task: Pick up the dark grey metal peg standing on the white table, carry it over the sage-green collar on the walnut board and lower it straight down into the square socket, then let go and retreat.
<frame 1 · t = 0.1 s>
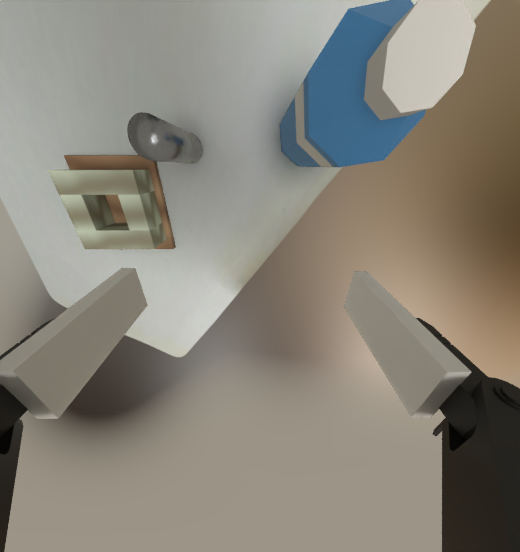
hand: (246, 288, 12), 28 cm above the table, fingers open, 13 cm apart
water bottle: (307, 133, 31), on the table
socket: (128, 206, 36), on the table
peg: (190, 148, 32), on the table
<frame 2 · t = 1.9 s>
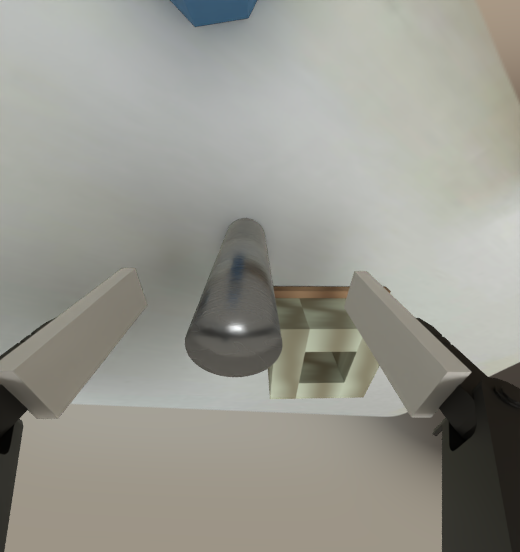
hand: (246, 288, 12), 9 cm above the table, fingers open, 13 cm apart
socket: (312, 329, 27), on the table
peg: (245, 237, 20), on the table
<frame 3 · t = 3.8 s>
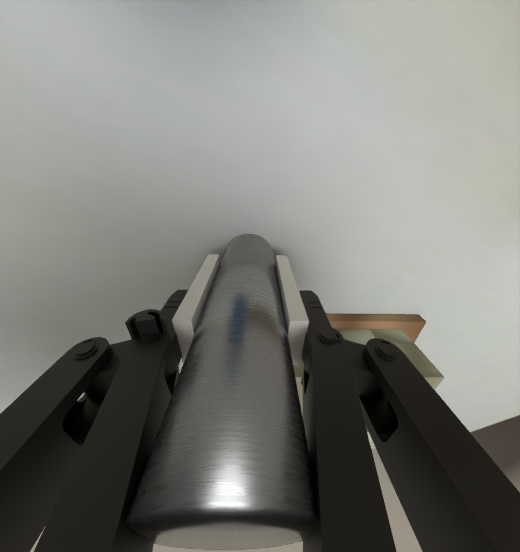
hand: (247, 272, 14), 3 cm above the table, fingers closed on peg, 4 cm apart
socket: (326, 360, 23), on the table
peg: (249, 257, 16), on the table, touching gripper
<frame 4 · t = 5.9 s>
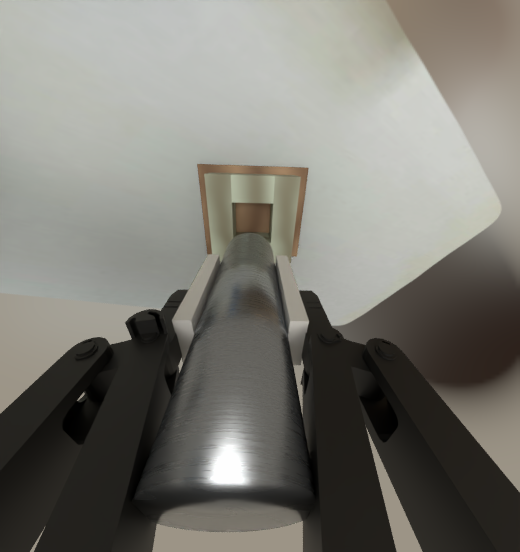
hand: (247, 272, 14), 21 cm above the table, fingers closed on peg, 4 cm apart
socket: (252, 214, 32), on the table
peg: (249, 255, 16), point 18 cm above the table, touching gripper
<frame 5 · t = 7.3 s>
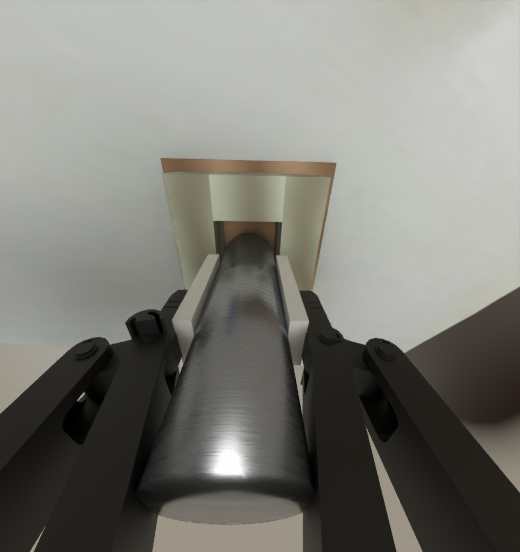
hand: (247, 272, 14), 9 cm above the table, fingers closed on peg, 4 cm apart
socket: (250, 232, 22), on the table
peg: (249, 255, 17), point 6 cm above the table, touching gripper
when the fingers open (7 cm above the table, at t = 8.3 s): peg drops 3 cm, resting on socket.
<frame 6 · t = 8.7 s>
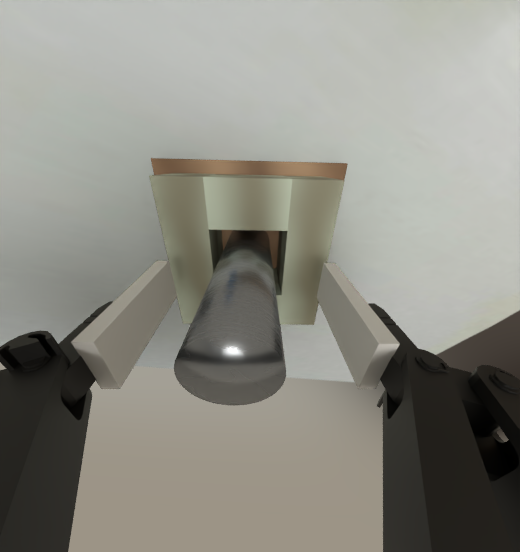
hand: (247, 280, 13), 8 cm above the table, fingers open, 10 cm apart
socket: (250, 239, 20), on the table
peg: (249, 242, 19), point 1 cm above the table, touching socket
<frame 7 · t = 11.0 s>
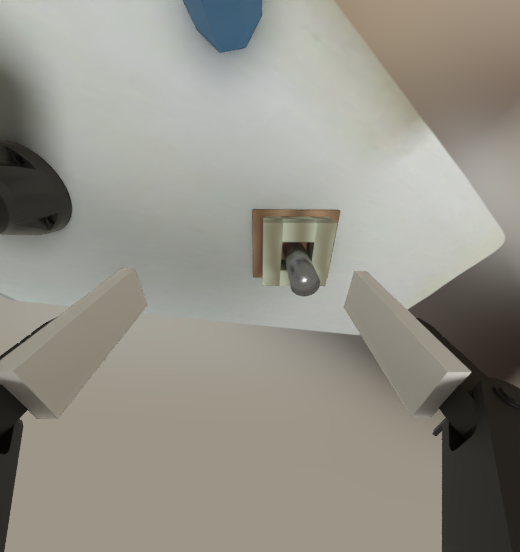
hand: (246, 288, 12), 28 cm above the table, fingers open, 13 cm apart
water bottle: (226, 2, 25), on the table
socket: (292, 245, 40), on the table
peg: (292, 246, 39), point 1 cm above the table, touching socket
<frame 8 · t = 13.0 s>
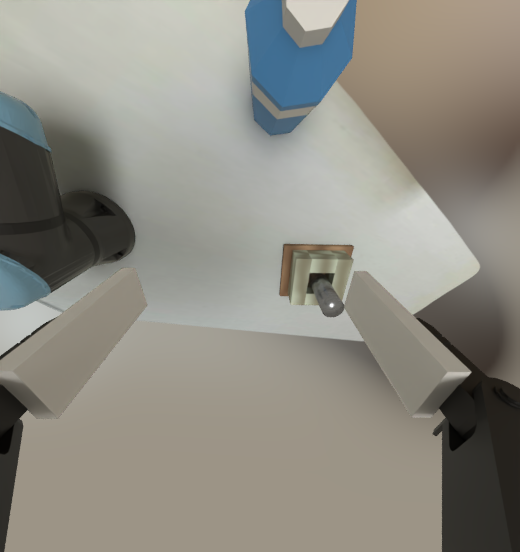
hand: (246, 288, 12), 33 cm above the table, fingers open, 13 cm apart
water bottle: (278, 103, 33), on the table
socket: (313, 271, 49), on the table
peg: (313, 273, 48), point 1 cm above the table, touching socket
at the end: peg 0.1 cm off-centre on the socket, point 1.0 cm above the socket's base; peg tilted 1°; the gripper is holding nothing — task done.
